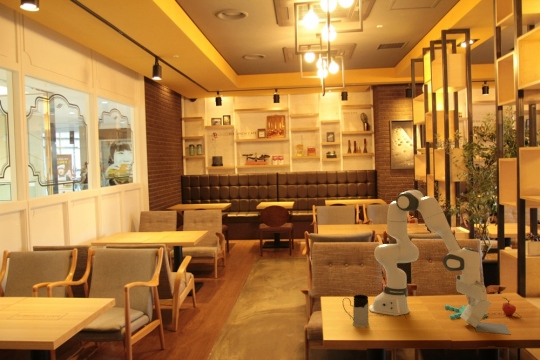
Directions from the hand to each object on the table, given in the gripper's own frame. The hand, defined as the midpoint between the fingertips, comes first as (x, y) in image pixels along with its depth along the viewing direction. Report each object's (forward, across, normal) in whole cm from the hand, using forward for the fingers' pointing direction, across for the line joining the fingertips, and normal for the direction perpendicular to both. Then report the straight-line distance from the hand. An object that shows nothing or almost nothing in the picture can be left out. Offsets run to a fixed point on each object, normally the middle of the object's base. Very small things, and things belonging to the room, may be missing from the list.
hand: (471, 305), depth 246 cm
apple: (+12, +10, -31) cm, 35 cm away
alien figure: (+12, +18, -10) cm, 24 cm away
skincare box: (+10, +2, +2) cm, 10 cm away
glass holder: (+11, +20, +56) cm, 61 cm away
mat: (+12, -5, -8) cm, 15 cm away
